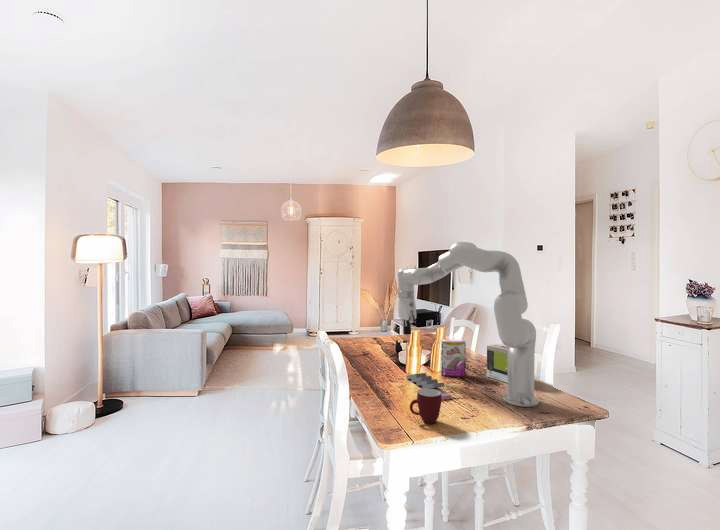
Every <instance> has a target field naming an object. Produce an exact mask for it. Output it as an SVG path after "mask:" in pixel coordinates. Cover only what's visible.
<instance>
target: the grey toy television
mask: <svg viewBox="0 0 720 530" xmlns="http://www.w3.org/2000/svg"><path fill="white" fill-rule="evenodd" d="M486 376H487V377H488V378H490V379H495V380H497V381H501V382H504V383H506V384H508V347H507V346H506V345H504V344H503V343H497V344H490V345H489V344H488V345H486Z"/></svg>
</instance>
